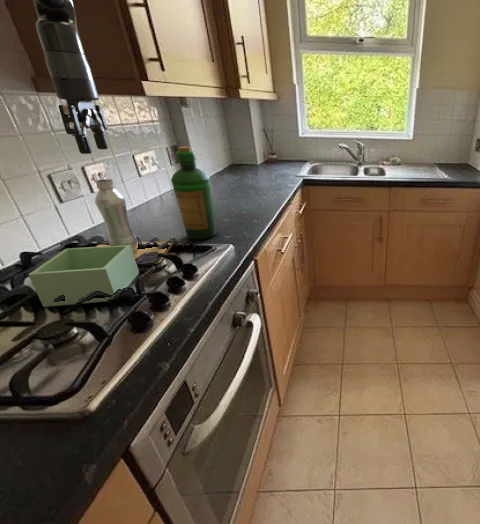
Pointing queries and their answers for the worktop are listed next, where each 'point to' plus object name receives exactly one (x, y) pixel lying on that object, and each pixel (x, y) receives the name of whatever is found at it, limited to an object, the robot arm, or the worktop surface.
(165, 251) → the board
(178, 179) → the bottle
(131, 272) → the bin
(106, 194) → the plastic bottle
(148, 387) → the worktop surface
